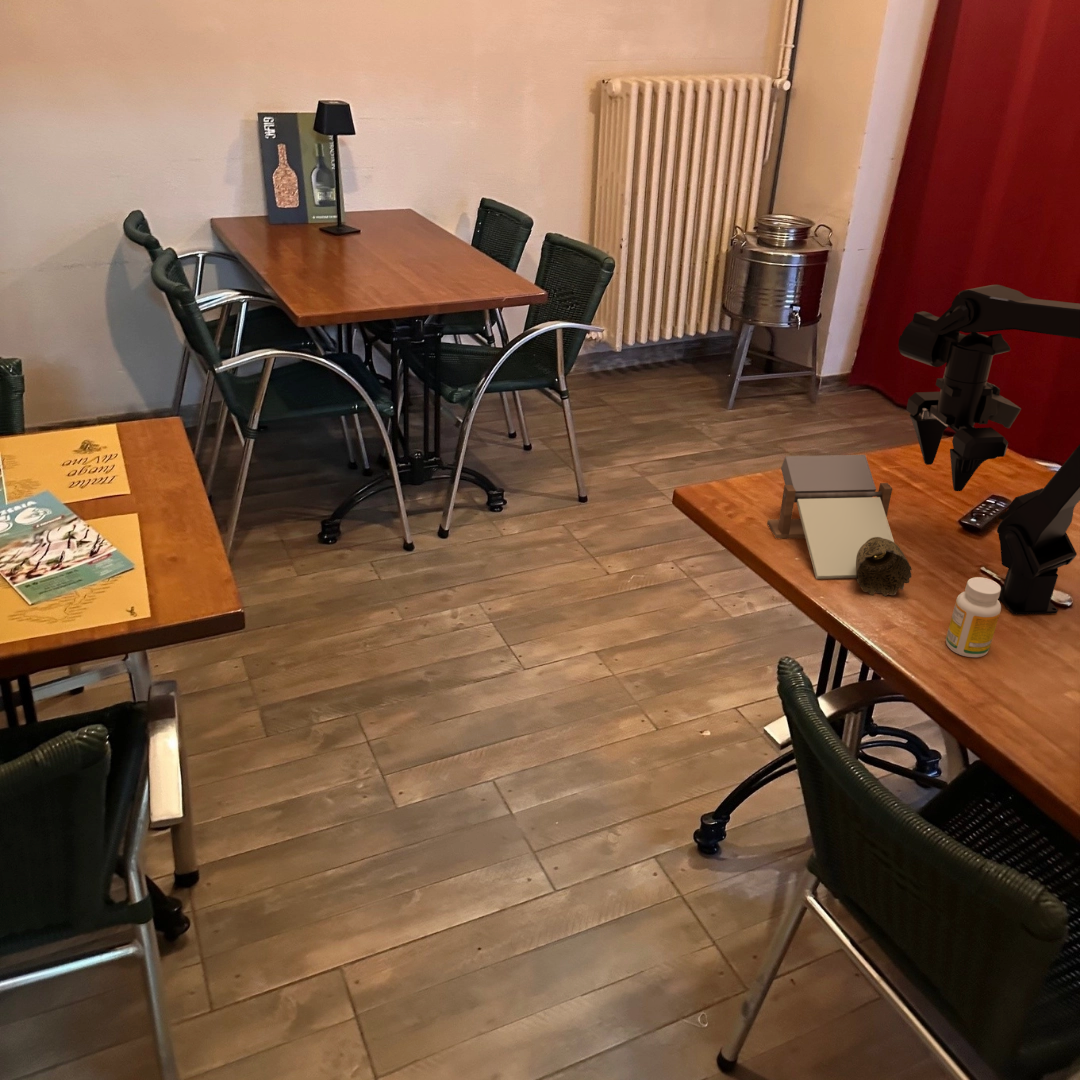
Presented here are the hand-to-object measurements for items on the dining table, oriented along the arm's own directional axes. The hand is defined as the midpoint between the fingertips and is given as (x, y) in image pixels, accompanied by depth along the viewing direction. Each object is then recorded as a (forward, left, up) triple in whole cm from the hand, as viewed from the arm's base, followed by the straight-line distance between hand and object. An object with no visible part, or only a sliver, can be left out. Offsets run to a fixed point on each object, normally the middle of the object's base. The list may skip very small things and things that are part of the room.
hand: (942, 477), depth 146 cm
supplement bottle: (-25, +5, -13) cm, 29 cm away
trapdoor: (+4, +13, -10) cm, 17 cm away
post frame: (+7, +13, -12) cm, 19 cm away
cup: (-5, +11, -8) cm, 14 cm away
